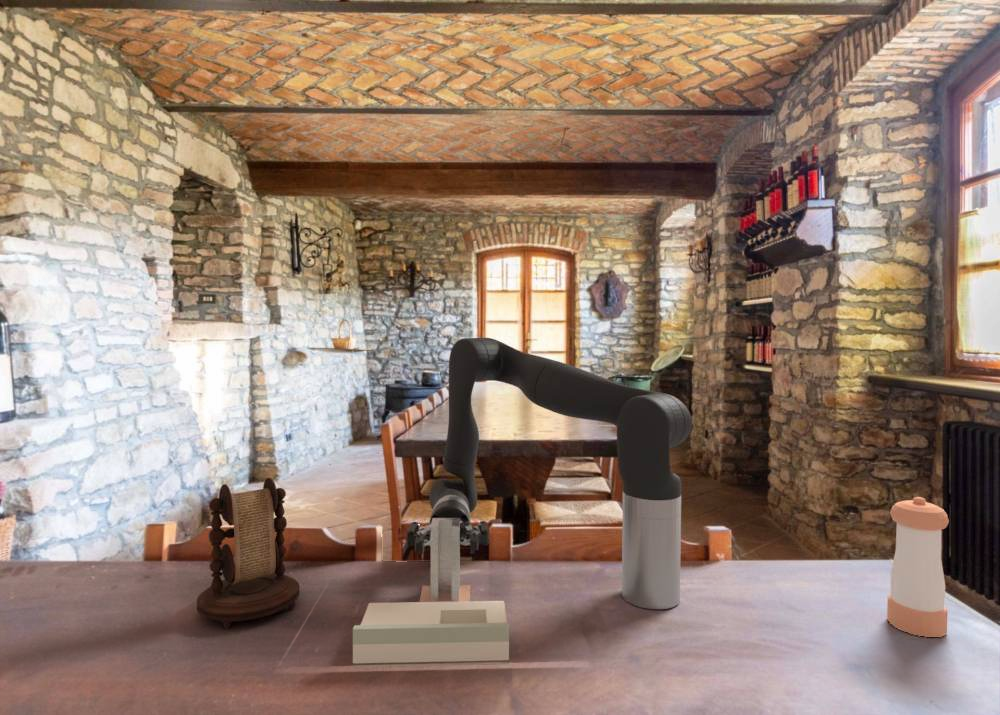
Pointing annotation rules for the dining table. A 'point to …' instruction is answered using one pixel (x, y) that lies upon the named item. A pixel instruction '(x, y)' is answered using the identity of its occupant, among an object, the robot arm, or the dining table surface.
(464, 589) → the tile
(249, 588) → the scroll
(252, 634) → the dining table surface
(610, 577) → the dining table surface
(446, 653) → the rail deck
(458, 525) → the clip
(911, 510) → the salt shaker
